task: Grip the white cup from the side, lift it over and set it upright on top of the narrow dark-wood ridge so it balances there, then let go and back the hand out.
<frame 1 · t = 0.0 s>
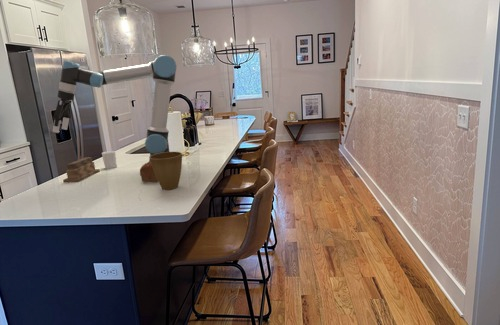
hand: (60, 130, 178), 28 cm above the worktop, tool tilted 20°, fingers open, 13 cm apart
white cup: (111, 167, 211), on the worktop
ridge: (82, 176, 192), on the worktop
plant pot: (169, 188, 158), on the worktop
bread: (158, 178, 179), on the worktop
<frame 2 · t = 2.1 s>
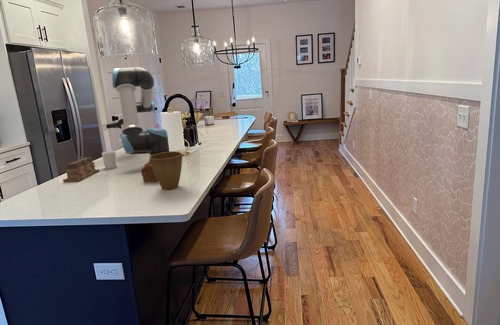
hand: (111, 127, 214), 24 cm above the worktop, tool horizontal, fingers open, 13 cm apart
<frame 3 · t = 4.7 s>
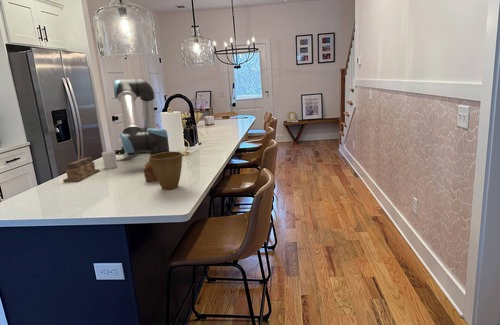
hand: (114, 156, 217), 6 cm above the worktop, tool horizontal, fingers open, 13 cm apart
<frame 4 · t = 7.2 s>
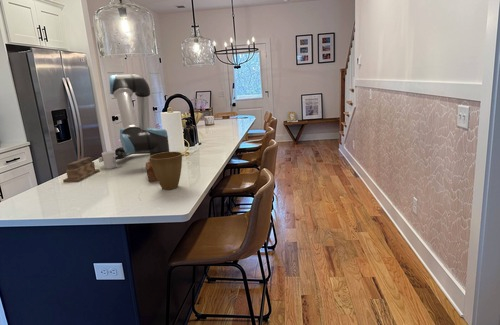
hand: (105, 160, 205), 6 cm above the worktop, tool horizontal, fingers closed on white cup, 7 cm apart
white cup: (111, 167, 211), on the worktop, touching gripper
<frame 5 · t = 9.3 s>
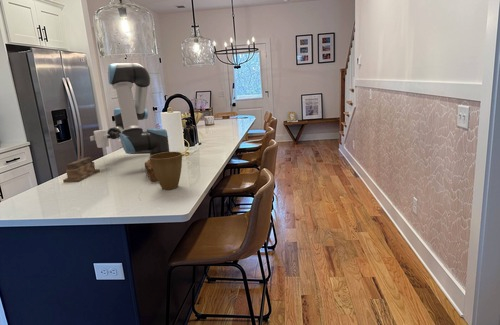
hand: (97, 138, 200), 20 cm above the worktop, tool horizontal, fingers closed on white cup, 7 cm apart
white cup: (103, 147, 206), point 14 cm above the worktop, touching gripper
when the fingers open (17 cm above the worktop, at t = 11.5 s): white cup drops 1 cm, resting on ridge.
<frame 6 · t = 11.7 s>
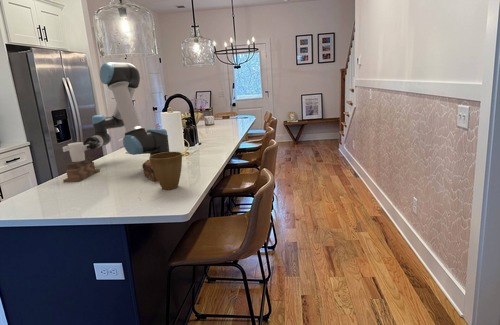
hand: (73, 149, 184), 17 cm above the worktop, tool horizontal, fingers open, 10 cm apart
white cup: (78, 161, 190), point 9 cm above the worktop, touching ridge
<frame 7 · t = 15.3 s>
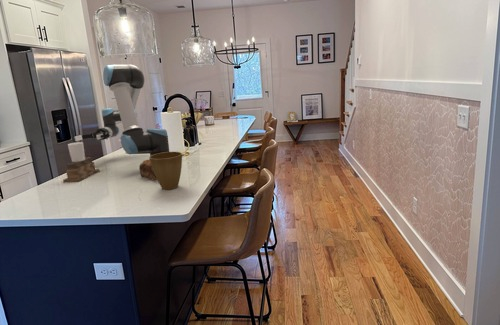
hand: (86, 138, 197), 21 cm above the worktop, tool horizontal, fingers open, 13 cm apart
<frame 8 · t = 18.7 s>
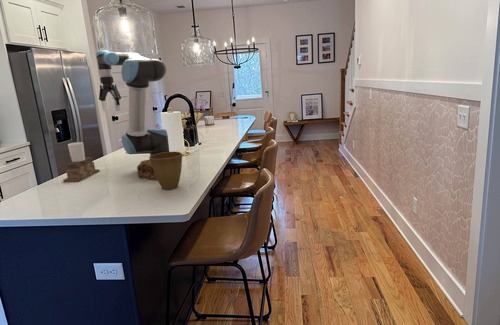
hand: (111, 110, 214), 35 cm above the worktop, tool pointing down, fingers open, 13 cm apart
at the end: white cup point 9.3 cm above the worktop; white cup tilted 0°; white cup 0.6 cm from the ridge (horizontally) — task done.
